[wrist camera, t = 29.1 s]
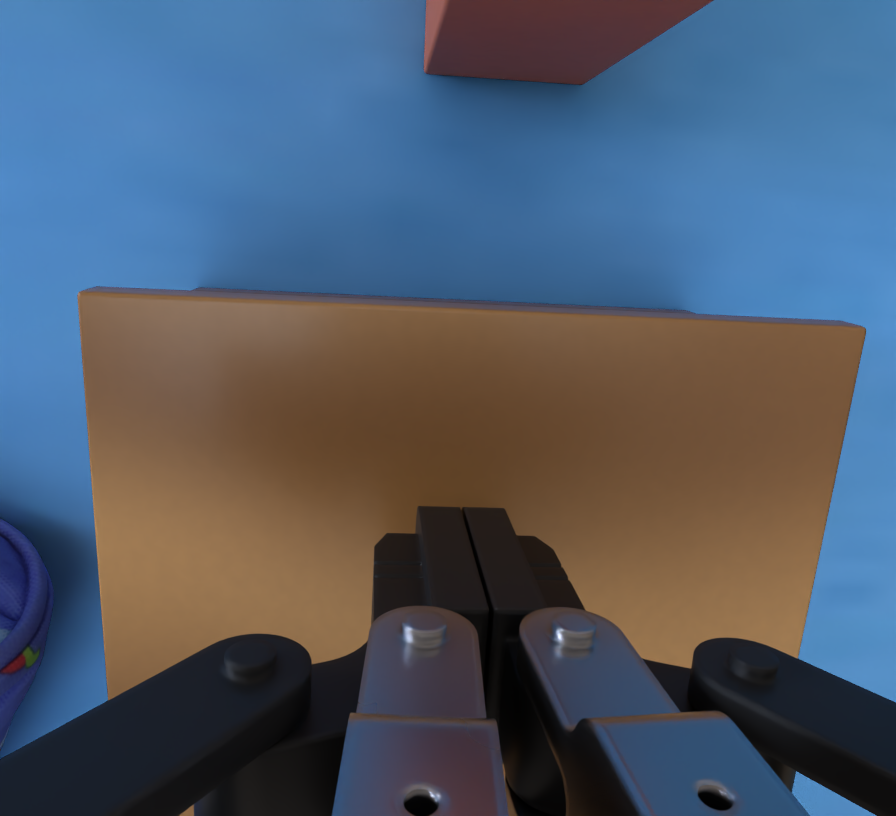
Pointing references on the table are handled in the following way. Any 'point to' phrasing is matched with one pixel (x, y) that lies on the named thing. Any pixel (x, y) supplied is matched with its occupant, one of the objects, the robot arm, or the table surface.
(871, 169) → the table surface
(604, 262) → the table surface
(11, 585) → the pencil case
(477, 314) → the lid
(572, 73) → the block
